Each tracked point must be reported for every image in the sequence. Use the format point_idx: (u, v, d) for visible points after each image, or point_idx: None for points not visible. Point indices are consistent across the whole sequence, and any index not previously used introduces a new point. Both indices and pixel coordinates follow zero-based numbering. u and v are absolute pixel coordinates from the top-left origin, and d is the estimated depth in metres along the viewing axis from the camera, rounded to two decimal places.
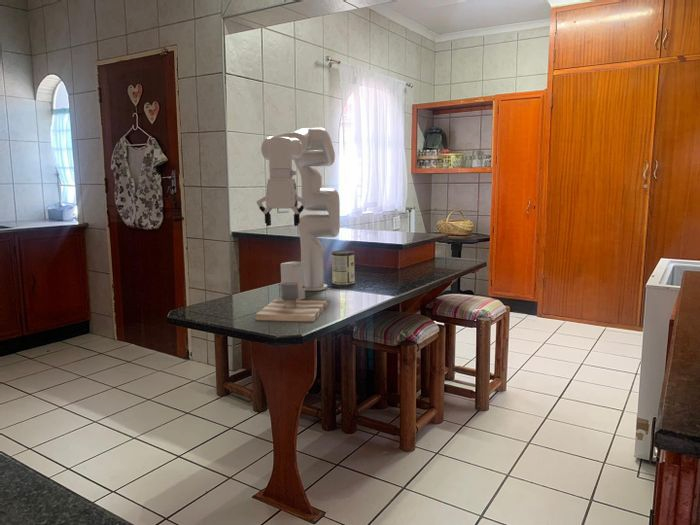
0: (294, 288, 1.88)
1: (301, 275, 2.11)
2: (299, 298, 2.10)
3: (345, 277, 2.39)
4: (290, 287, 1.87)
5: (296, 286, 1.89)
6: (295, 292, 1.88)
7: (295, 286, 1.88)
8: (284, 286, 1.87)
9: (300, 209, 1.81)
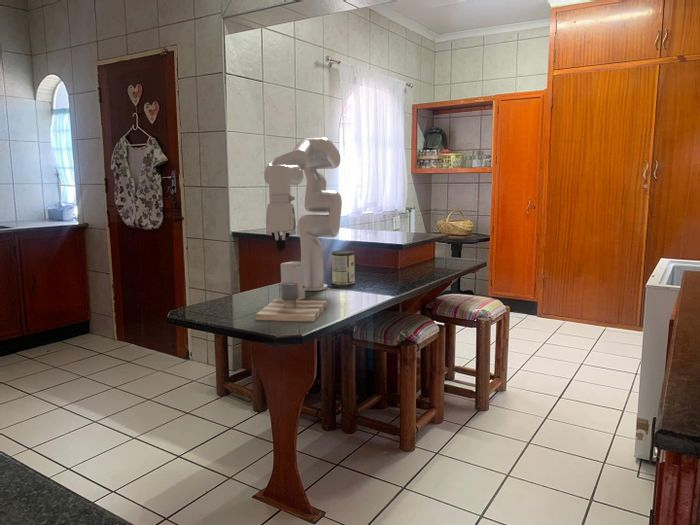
0: (294, 288, 1.88)
1: (301, 275, 2.11)
2: (299, 298, 2.10)
3: (345, 277, 2.39)
4: (290, 287, 1.87)
5: (296, 286, 1.89)
6: (295, 292, 1.88)
7: (295, 286, 1.88)
8: (284, 286, 1.87)
9: (286, 235, 1.94)
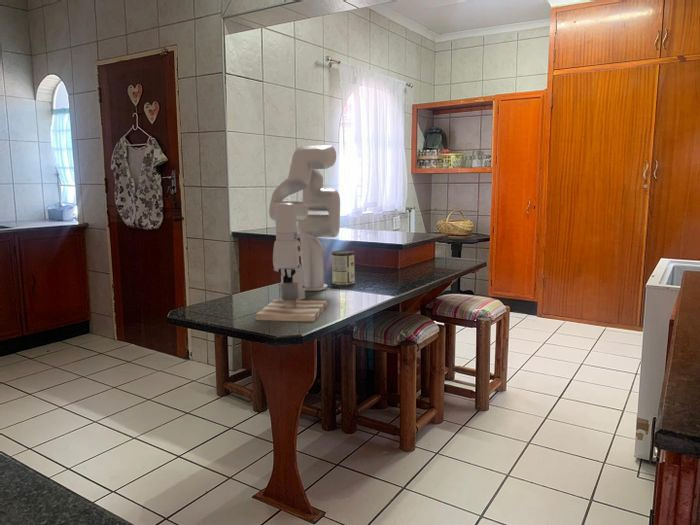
0: (294, 288, 1.88)
1: (301, 275, 2.11)
2: (299, 298, 2.10)
3: (345, 277, 2.39)
4: (290, 287, 1.87)
5: (296, 286, 1.89)
6: (295, 292, 1.88)
7: (295, 286, 1.88)
8: (284, 286, 1.87)
9: (292, 273, 1.96)
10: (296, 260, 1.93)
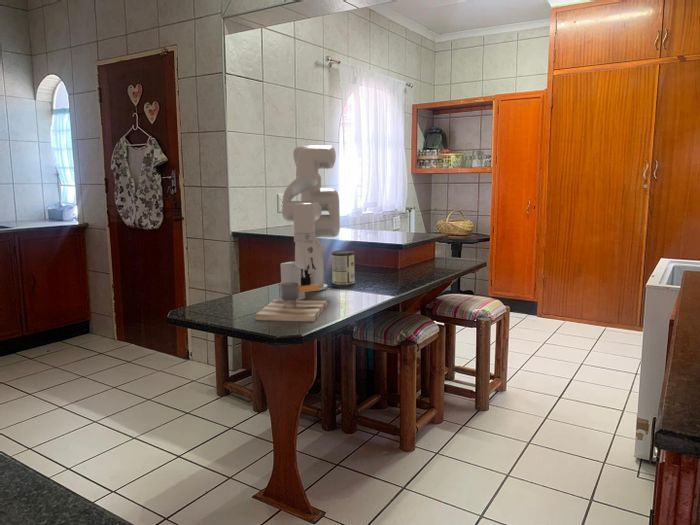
0: (286, 288, 1.87)
1: None
2: (299, 298, 2.10)
3: (345, 277, 2.39)
4: (283, 287, 1.88)
5: (289, 287, 1.87)
6: (288, 293, 1.87)
7: (288, 287, 1.87)
8: (281, 285, 1.90)
9: (305, 274, 1.93)
10: (305, 261, 1.89)
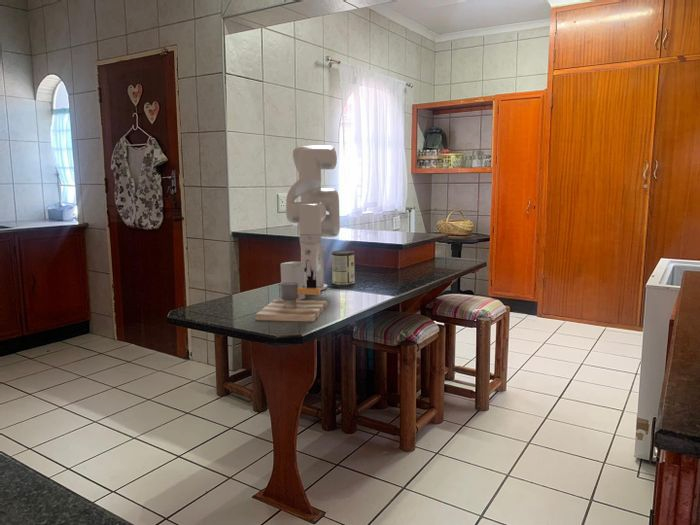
0: (282, 288, 1.88)
1: (301, 275, 2.11)
2: (299, 298, 2.10)
3: (345, 277, 2.39)
4: None
5: (284, 287, 1.88)
6: (282, 292, 1.88)
7: (282, 286, 1.88)
8: None
9: None
10: None
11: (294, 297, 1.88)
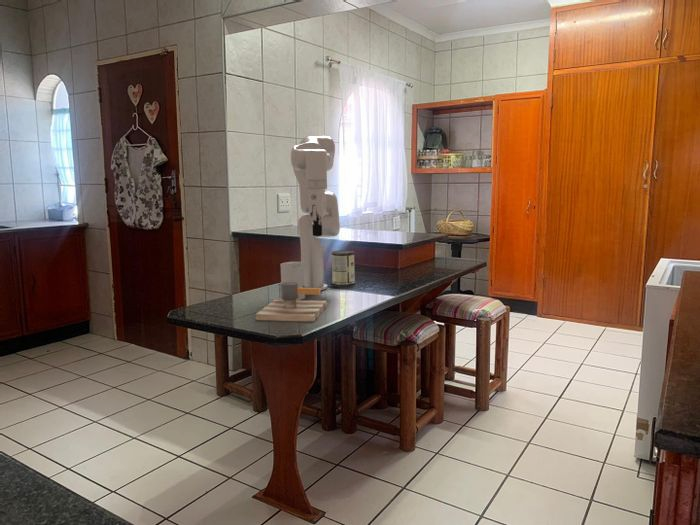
0: (282, 288, 1.88)
1: (301, 275, 2.11)
2: (299, 298, 2.10)
3: (345, 277, 2.39)
4: None
5: (284, 287, 1.88)
6: (282, 292, 1.88)
7: (282, 286, 1.88)
8: None
9: None
10: (309, 208, 1.92)
11: (294, 297, 1.88)
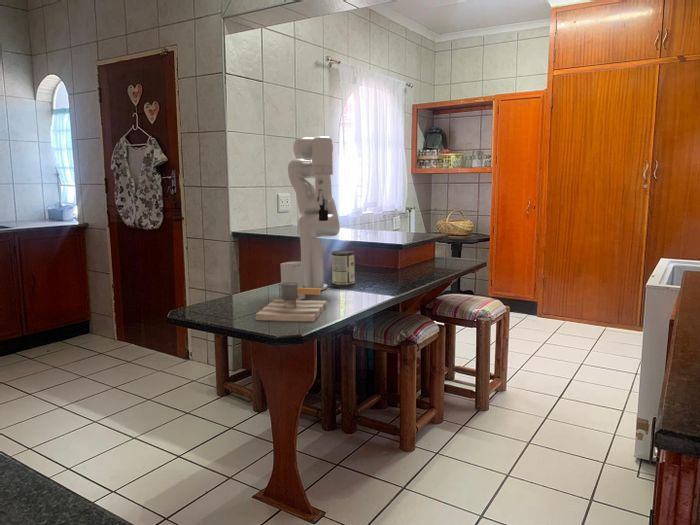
0: (282, 288, 1.88)
1: (301, 275, 2.11)
2: (299, 298, 2.10)
3: (345, 277, 2.39)
4: None
5: (284, 287, 1.88)
6: (282, 292, 1.88)
7: (282, 286, 1.88)
8: None
9: None
10: (315, 193, 1.97)
11: (294, 297, 1.88)
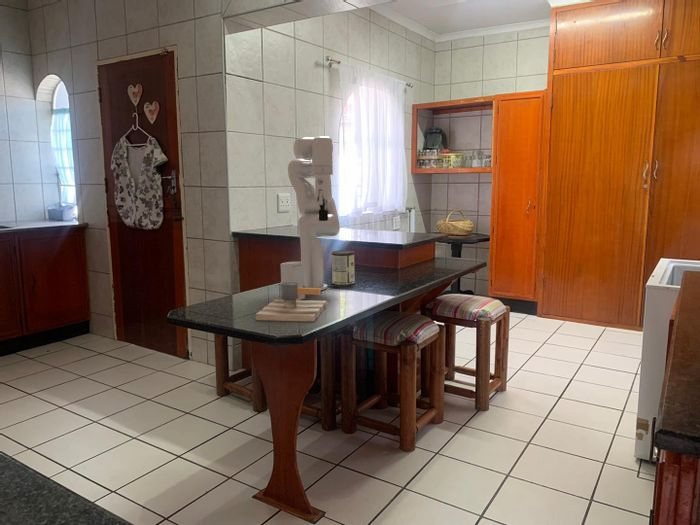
0: (282, 288, 1.88)
1: (301, 275, 2.11)
2: (299, 298, 2.10)
3: (345, 277, 2.39)
4: None
5: (284, 287, 1.88)
6: (282, 292, 1.88)
7: (282, 286, 1.88)
8: None
9: None
10: (315, 193, 1.97)
11: (294, 297, 1.88)
